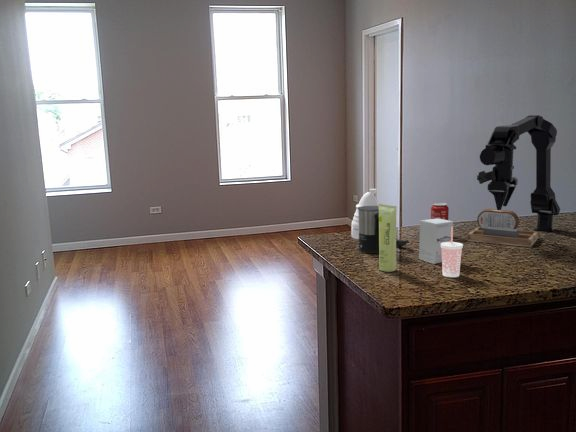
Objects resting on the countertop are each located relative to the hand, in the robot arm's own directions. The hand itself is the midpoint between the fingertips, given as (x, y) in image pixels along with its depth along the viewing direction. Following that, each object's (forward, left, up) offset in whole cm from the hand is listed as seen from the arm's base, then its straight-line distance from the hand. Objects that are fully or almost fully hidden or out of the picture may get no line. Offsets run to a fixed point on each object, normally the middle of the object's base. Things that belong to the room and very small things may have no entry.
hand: (501, 208), depth 203 cm
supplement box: (+35, -12, -12) cm, 39 cm away
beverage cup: (+49, -3, -12) cm, 50 cm away
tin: (-17, -5, -12) cm, 22 cm away
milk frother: (+29, -32, -12) cm, 45 cm away
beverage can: (0, -22, -12) cm, 25 cm away
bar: (0, 0, -11) cm, 11 cm away
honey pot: (+12, -45, -12) cm, 48 cm away
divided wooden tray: (-3, 0, -12) cm, 12 cm away
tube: (+52, -21, -12) cm, 57 cm away
